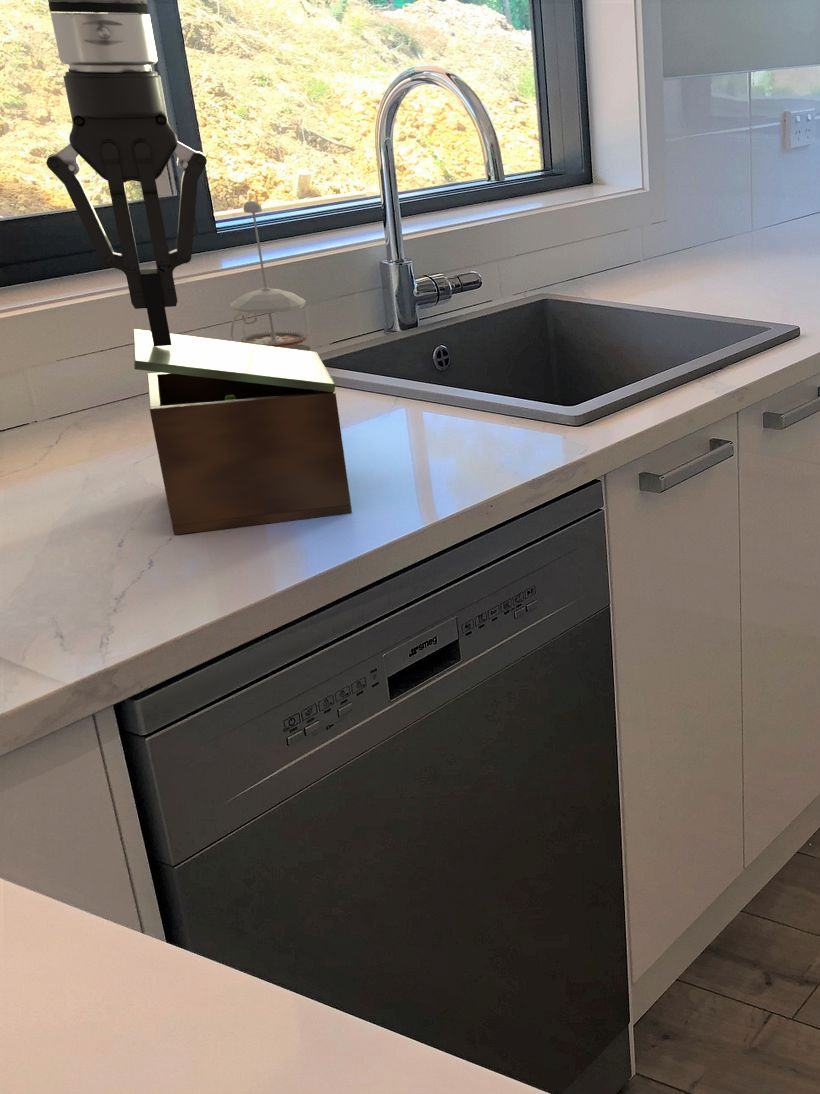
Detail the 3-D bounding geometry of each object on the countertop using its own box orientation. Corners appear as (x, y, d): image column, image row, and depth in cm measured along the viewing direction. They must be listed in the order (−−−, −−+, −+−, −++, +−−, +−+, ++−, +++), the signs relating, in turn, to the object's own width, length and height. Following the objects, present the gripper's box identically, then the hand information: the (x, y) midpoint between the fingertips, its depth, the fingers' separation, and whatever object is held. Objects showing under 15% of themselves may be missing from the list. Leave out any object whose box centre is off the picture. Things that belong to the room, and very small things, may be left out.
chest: (173, 535, 129) (149, 409, 124) (169, 489, 141) (147, 373, 136) (352, 513, 135) (335, 393, 130) (333, 472, 147) (317, 360, 142)
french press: (279, 434, 160) (241, 208, 149) (215, 420, 165) (174, 201, 155) (348, 416, 167) (316, 199, 157) (284, 402, 173) (250, 192, 163)
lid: (134, 369, 122) (134, 360, 122) (133, 336, 134) (133, 328, 134) (334, 392, 130) (335, 384, 130) (316, 359, 142) (317, 352, 142)
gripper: (21, 70, 114) (82, 357, 123) (195, 70, 119) (240, 345, 129) (27, 66, 120) (84, 340, 129) (191, 67, 125) (235, 330, 135)
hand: (162, 342), depth 129 cm, fingers closed
